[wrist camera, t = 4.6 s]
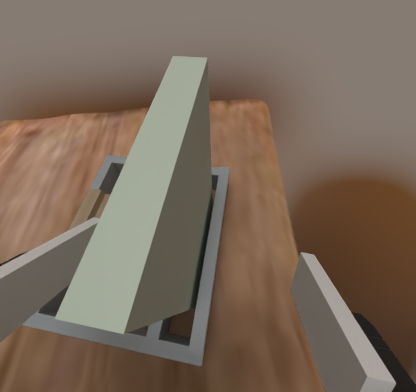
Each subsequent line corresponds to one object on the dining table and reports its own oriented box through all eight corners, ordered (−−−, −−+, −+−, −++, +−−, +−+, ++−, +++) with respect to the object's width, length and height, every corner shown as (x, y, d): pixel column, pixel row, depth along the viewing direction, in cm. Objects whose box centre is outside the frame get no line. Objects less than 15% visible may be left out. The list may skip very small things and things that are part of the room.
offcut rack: (50, 320, 23) (0, 327, 17) (119, 170, 32) (100, 145, 27) (204, 355, 21) (199, 374, 15) (228, 184, 30) (230, 160, 25)
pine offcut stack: (85, 272, 25) (50, 264, 20) (112, 208, 29) (89, 188, 24) (118, 278, 25) (91, 272, 19) (141, 212, 29) (124, 193, 23)
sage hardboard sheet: (178, 304, 23) (54, 318, 5) (199, 205, 29) (173, 55, 11) (195, 307, 23) (123, 334, 5) (212, 206, 29) (207, 58, 11)
